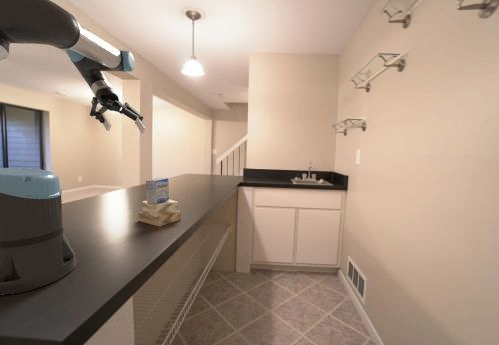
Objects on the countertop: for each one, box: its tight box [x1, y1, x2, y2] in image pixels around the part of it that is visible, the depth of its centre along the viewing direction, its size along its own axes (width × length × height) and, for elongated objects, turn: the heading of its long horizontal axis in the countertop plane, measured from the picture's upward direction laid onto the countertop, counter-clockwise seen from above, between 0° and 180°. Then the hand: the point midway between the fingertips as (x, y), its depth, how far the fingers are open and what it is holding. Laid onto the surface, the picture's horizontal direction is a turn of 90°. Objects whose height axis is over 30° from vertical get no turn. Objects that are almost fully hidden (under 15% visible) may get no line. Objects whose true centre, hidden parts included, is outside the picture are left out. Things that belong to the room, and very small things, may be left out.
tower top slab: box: [141, 198, 179, 217], centre depth 89 cm, size 9×11×4 cm
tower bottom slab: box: [138, 209, 182, 227], centre depth 90 cm, size 10×12×4 cm
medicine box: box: [145, 177, 170, 204], centre depth 89 cm, size 8×4×9 cm, turn 166°
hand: (127, 129), depth 90 cm, fingers open, 13 cm apart
